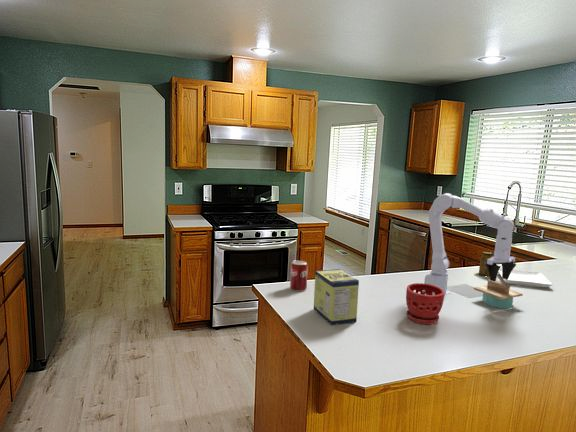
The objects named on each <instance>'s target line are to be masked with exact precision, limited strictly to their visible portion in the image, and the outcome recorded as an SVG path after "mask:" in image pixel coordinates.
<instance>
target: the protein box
mask: <svg viewBox="0 0 576 432" xmlns="http://www.w3.org/2000/svg"><path fill="white" fill-rule="evenodd" d="M359 282H360V280H358V279H357V278H355V277H354V276H352V275H350V274H348V273H347V272H345V271H343V270H342V269H339V268H335V269H322V270H320V269H319V270H315V273H314V291H313V292H314V295H313V311H315V312H316V313H317V314H318V315H319V316H320V317H321V318H322V319H324V320H325V321H326V322H327V323H328V324H330V325H331V326H332V325H333V326H334V325H341V324H348V323H355V322H357V319H358V318H357V317H358V302H359V301H358V300H359V284H360V283H359Z"/></svg>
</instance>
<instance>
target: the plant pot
mask: <svg viewBox="0 0 576 432" xmlns="http://www.w3.org/2000/svg"><path fill="white" fill-rule="evenodd" d="M423 290H425V291H423ZM433 292H434V293H435V295H433V294H432V293H433ZM444 299H445V294H444V291H443V290H442V289H441V288H439V287H437V286H434V285H430V284H424V282H423V283H419V282H416V283H411V284H408V285H407V286H406V292H405V302H406V307H407V310H406V316H407V317H408V318H409V319H410V320H411V321H413V322H415V323H419V324H423V325H431V324H436V323H437V322H438V321H439V319H440V315H439V314H440V312H441V310H442V307H443V304H444Z"/></svg>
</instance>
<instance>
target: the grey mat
mask: <svg viewBox="0 0 576 432" xmlns="http://www.w3.org/2000/svg"><path fill="white" fill-rule="evenodd" d="M474 287H475V286H472V285H469V284H468V283H461V284H457V285H449V286H448V285H447V290H448V291H450V292H453V293H455V294H457V295H460V296H462V297H466V298H467V299H472V298H479V297H483V293H482V292H480V291H477V290H474ZM447 290H446V291H447Z"/></svg>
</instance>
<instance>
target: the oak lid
mask: <svg viewBox="0 0 576 432" xmlns="http://www.w3.org/2000/svg"><path fill="white" fill-rule="evenodd" d="M473 287H474V290H477V291H480V292H482V293H485V294H488V295H490V296H493V297H496V298H498V299H501V300H502V299H507V298H513V299H514V298H519V297H522V296H523V295H524V294H523V293H521V292H519V291H516V290H513V289H511V288H510V287H511V284H509V283H506V282H501V281H500V280H496V281H495V282H494V281H491V280H490V279H488V280H487V284H486V285H482V286H480V285H479V286H473Z"/></svg>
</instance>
